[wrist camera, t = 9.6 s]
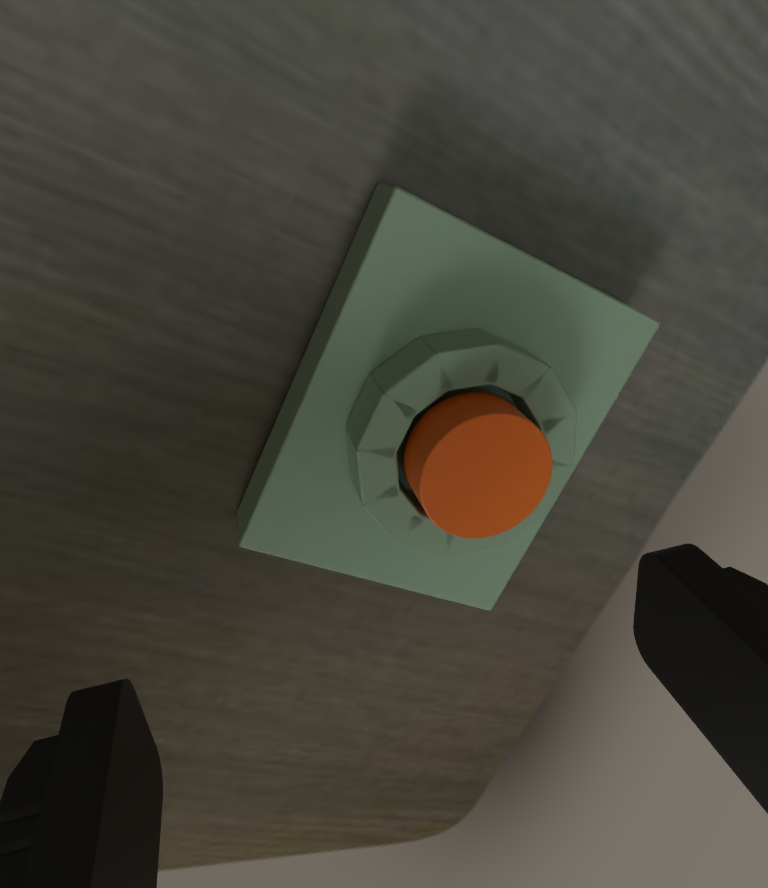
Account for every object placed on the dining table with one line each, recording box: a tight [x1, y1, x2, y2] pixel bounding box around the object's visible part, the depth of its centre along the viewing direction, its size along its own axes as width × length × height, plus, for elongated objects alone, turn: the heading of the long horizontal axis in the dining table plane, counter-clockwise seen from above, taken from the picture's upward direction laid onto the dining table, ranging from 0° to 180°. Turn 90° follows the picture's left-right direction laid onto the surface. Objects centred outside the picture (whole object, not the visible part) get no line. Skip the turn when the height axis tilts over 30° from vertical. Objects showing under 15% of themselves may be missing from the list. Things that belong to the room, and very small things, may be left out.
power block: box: [237, 182, 660, 611], centre depth 22 cm, size 12×10×4 cm
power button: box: [404, 392, 552, 539], centre depth 20 cm, size 4×4×2 cm
